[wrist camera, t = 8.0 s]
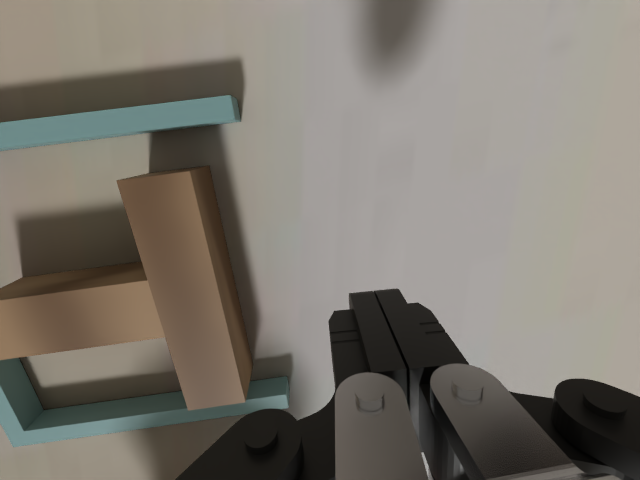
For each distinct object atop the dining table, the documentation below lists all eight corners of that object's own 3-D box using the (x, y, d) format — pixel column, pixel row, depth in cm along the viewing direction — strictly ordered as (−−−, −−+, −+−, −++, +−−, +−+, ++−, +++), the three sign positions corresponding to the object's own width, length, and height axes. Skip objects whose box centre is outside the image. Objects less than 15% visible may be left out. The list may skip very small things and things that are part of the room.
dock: (236, 99, 15) (230, 94, 14) (289, 389, 20) (288, 408, 19) (-109, 140, 15) (-153, 140, 13) (33, 425, 20) (13, 446, 19)
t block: (209, 165, 16) (189, 171, 13) (253, 364, 20) (245, 402, 17) (-14, 194, 16) (-83, 206, 13) (72, 390, 20) (33, 432, 17)
